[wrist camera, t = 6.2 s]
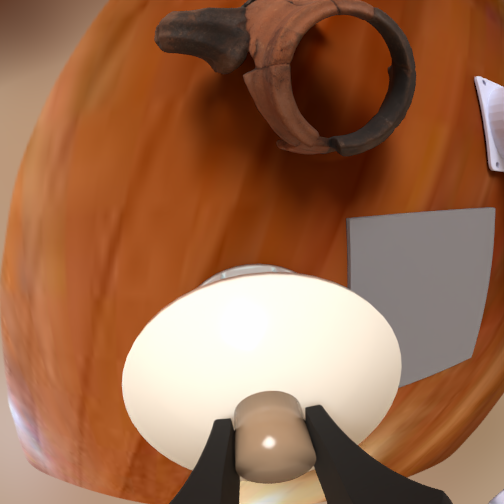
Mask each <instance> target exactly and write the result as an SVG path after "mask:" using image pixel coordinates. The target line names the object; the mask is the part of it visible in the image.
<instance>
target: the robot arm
mask: <svg viewBox="0 0 504 504" xmlns="http://www.w3.org/2000/svg"><path fill="white" fill-rule="evenodd" d="M475 84H476V88H477V92H478V97H479V101H480V106H481V112H482V117H483V123H484V129H485V137H486V145H487V154H488V165H489V168H490V170H492V171H500V172H504V87H502V86H500V85H498V84H496V83H494V82H492V81H489V80H487V79H485V78H482V77H480V76H477V77H475ZM305 421H306V425H307V428H308V431H309V434H310V438H311V441H312V444H313V447H314V451H315V454H316V462H315V464H314V468H315V470H316V473H317V476H318V478H319V481H320V484H321V486H322V489H323V491H324V494H325V497H326V500H327V504H453V503H452V502H451V500H450V499H449V497H448V496H447V495H446V494H445V493H444V492H443V491H442V490H438V489H435V488H431V487H428V486H425V485H422V484H420V483H417V482H415V481H413V480H410V479H408V478H406V477H404V476H402V475H400V474H398V473H396V472H394V471H392V470H391V469H389V468H387V467H386V466H384V465H383V464H381V463H380V462H378V461H377V460H375V459H374V458H373V457H371V456H370V455H369V454H367V453H366V452H365V451H364V450H362V449H361V448H360V447H359V446H358V445H357V444H356V443H354V442H353V441H352V440H351V439H350V438H349V437H348V436H347V435H346V434H345V433H344V432H343V431H342V430H341V429H340V427H339V426H338V425H337V424H336V423H335V422H334V421H333V419H332V418H331V417H330V416H329V414H328V413H327V412H326V411H325V409H324V408H323V406H322V405H315V406H310V407H305ZM239 490H240V476H239V475H238V473H237V472H236V468H235V436H234V428H233V424H232V421H231V418H227V419H216V420H215V421H214V423H213V426H212V429H211V432H210V435H209V438H208V440H207V443H206V445H205V447H204V450H203V452H202V454H201V456H200V458H199V460H198V462H197V464H196V466H195V467H194V469H193V471H192V473H191V474H190V476H189V478H188V479H187V481H186V482H185V484H184V485H183V487H182V488H181V490H180V491H179V492H178V494H177V495H176V496H175V497H174V499H173V500H172V501H171V502H170V503H169V504H239ZM488 504H504V489H503V490H502V491H501V492H500V493H499V494H498V495H496V496H495V497H494V498H493V499H492V500H491V501H490V502H489V503H488Z"/></svg>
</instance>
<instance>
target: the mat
mask: <svg viewBox="0 0 504 504" xmlns="http://www.w3.org/2000/svg"><path fill="white" fill-rule="evenodd" d="M346 225H347V256H348V289H351V290H352V291H354V292H355V293H357V294H358V295H360V296H361V297H363V298H364V299H366V300H367V301H368V302H369V303H370V304H371V305H372V306H373V307H374V308H375V309H376V310H377V311H378V312H379V313H380V314H381V315H382V316H383V317H384V318H385V319H386V321H387V322H388V324H389V325H390V326H391V328H392V330H393V332H394V334H395V336H396V339H397V341H398V344H399V349H400V353H401V366H402V368H401V377H400V382H399V386H398V388H399V387H402V386H404V385H407V384H410V383H413V382H415V381H418V380H421V379H423V378H426V377H428V376H431V375H433V374H436V373H438V372H440V371H443V370H445V369H447V368H449V367H452V366H454V365H456V364H458V363H460V362H462V361H465V360H467V359H469V358H471V357H472V354H473V350H474V347H475V343H476V340H477V336H478V332H479V328H480V324H481V320H482V316H483V311H484V307H485V302H486V296H487V291H488V285H489V279H490V272H491V264H492V255H493V244H494V229H495V208H492V207H488V208H471V209H455V210H441V211H427V212H414V213H402V214H390V215H378V216H367V217H356V218H346Z"/></svg>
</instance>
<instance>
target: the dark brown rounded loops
mask: <svg viewBox="0 0 504 504" xmlns="http://www.w3.org/2000/svg"><path fill="white" fill-rule="evenodd" d="M334 15H351V16H355V17H358V18H360V19H362V20H365V21H367V22H369V23H370V24H371V25H372V26H374V27H375V28H376V29H377V30H378V32H379V33H380V34H381V35H382V37H383V39H384V40H385V42H386V44H387V46H388V48H389V51H390V54H391V57H392V65H391V66H390V67H388V74H389V80H390V81H389V88H388V92H387V94H386V96H385V99H384V101H383V103H382V105H381V107H380V109H379V112H378V113H377V114H376V115H375V116H374V117H373V118H372V119H371V120H370V121H369V122H368V123H367V124H366V125H365V126H364V127H362V128H361V129H359V130H358V131H356V132H354V133H351V134H347V135H342V136H333V137H330V138H325V137H321V136H319V133H318V131H317V130H316V129H314V128H313V127H312V126H311V125H310V124H309V123H308V122H307V121H306V120H305V118H304V117H303V116H302V115H301V113H300V112H299V110H298V107H297V105H296V102H295V99H294V97H293V92H292V86H291V67H290V62H291V61H292V58H293V55H294V52H295V49H296V47H297V46H298V44H299V42H300V41H301V39H302V37H303V36H304V35H305V33H306V32H307V31H308V30H309V29H310V28H311V27H312V26H314V25H315V24H316V23H318V22H319V21H321V20H323V19H325V18H327V17H330V16H334ZM155 42H156V44H157V45H158V46H159V47H160V49H161V50H162V51H164V52H167V53H179V54H186V55H192V56H196V57H199V58H201V59H204V60H205V61H206V62H207V63H209V65H210V66H211V67H212V68H213V70H214V71H215V72H218V73H221V74H224V75H225V74H229V73H231V72H232V71H234V70H235V69H237V68H238V67H239V66H240V65H241V64H242V63H243V61H244V60H245V59H246V57H247V52H248V51H249V52H250V55H251V56H252V58H253V59H254V63H255V66H256V68H255V69H254V70H252V71H250V72H247V73H245V74H244V75H243V77H244V81H245V84H246V86H247V88H248V90H249V92H250V94H251V96H252V98H253V99H254V102H255V104H256V107H257V109H258V110H259V112H260V113H261V114H262V116H263V117H264V118H265V120H266V121H267V122H268V123H269V125H270V127H271V128H272V129H273V131H274V132H275V133H276V134H277V135H278V136H279V137H280V138H282V140H278V141H277V142H276V145H277V146H278V148H280V149H283V150H287V151H290V152H294V153H299V154H318V153H320V154H326V153H330V152H334V151H337V152H338V153H339V154H341V155H342V156H352V155H357V154H360V153H363V152H365V151H366V150H369V149H372V148H374V147H376V146H377V145H379V144H381V143H382V142H384V141H385V140H386V139H387V138H388V137H389V136H390V135H391V134H392V133H393V131H394V129H395V128H396V127H398V126H399V124H400V123H401V121H402V120H403V119H404V118H405V115H406V112H407V110H408V109H409V107H410V105H411V102H412V98H413V95H414V91H415V85H416V71H415V62H414V57H413V53H412V48H411V47H410V44H409V42H408V40H407V37H406V36H405V34H404V33H403V31H402V30H401V29H400V28H399V26H398V25H397V24H396V23H395V21H394V20H393V19H392V18H390V17H389V16H388V15H387V14H386V13H384V12H383V11H382V10H380V9H378V8H374V7H372V6H371V5H370V4H367V3H365V2H362V1H360V0H248V1H247V2H246V3H244V5H242V6H241V7H240V8H203V9H198V10H192V11H180V12H177V11H173V12H171V13H169V14H168V15H167V16H165V17H164V18H163V19H162V20H161V21H160V23H159V25H158V26H157V27H156V31H155Z"/></svg>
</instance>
